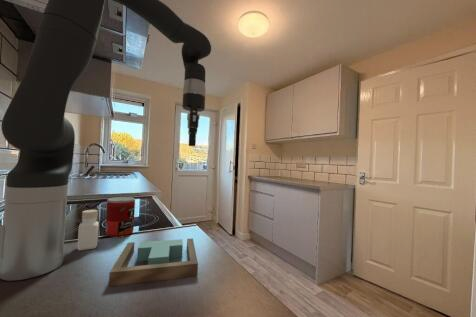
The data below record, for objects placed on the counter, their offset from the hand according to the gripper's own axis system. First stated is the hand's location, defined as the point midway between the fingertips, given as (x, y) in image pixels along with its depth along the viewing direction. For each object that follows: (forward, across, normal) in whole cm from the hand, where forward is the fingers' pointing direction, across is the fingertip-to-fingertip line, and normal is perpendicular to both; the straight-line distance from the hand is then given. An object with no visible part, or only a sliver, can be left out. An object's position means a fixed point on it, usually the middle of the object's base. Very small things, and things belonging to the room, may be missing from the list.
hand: (191, 145), depth 69 cm
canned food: (+29, -2, -21) cm, 36 cm away
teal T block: (+29, +20, -7) cm, 36 cm away
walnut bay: (+29, +20, -8) cm, 36 cm away
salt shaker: (+29, +8, -26) cm, 40 cm away
